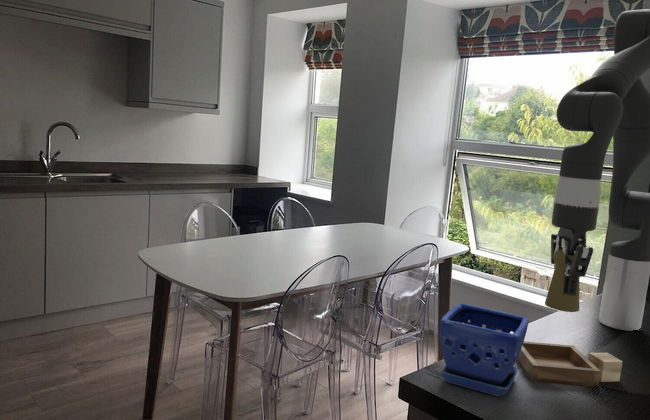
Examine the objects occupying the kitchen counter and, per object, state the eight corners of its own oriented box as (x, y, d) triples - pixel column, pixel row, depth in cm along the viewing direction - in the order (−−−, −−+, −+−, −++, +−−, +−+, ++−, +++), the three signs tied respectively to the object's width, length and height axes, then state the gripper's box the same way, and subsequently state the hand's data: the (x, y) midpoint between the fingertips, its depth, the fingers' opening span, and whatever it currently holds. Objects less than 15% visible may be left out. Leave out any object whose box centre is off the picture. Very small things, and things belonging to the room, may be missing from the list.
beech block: (586, 372, 104) (589, 352, 104) (603, 372, 105) (607, 352, 105) (600, 382, 100) (604, 361, 100) (619, 381, 101) (622, 361, 101)
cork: (583, 313, 99) (591, 254, 97) (548, 309, 100) (556, 251, 98) (574, 304, 105) (583, 248, 103) (541, 299, 106) (549, 244, 104)
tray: (511, 354, 110) (513, 340, 110) (571, 359, 110) (573, 345, 109) (531, 380, 98) (533, 365, 98) (598, 387, 98) (600, 371, 98)
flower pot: (451, 359, 106) (457, 300, 104) (522, 377, 100) (530, 315, 98) (431, 384, 94) (438, 318, 92) (510, 407, 88) (520, 337, 86)
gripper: (615, 209, 92) (601, 306, 95) (580, 199, 106) (568, 284, 109) (571, 206, 93) (557, 302, 95) (542, 196, 107) (531, 281, 109)
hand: (563, 292), depth 102 cm, fingers closed on cork, 3 cm apart
